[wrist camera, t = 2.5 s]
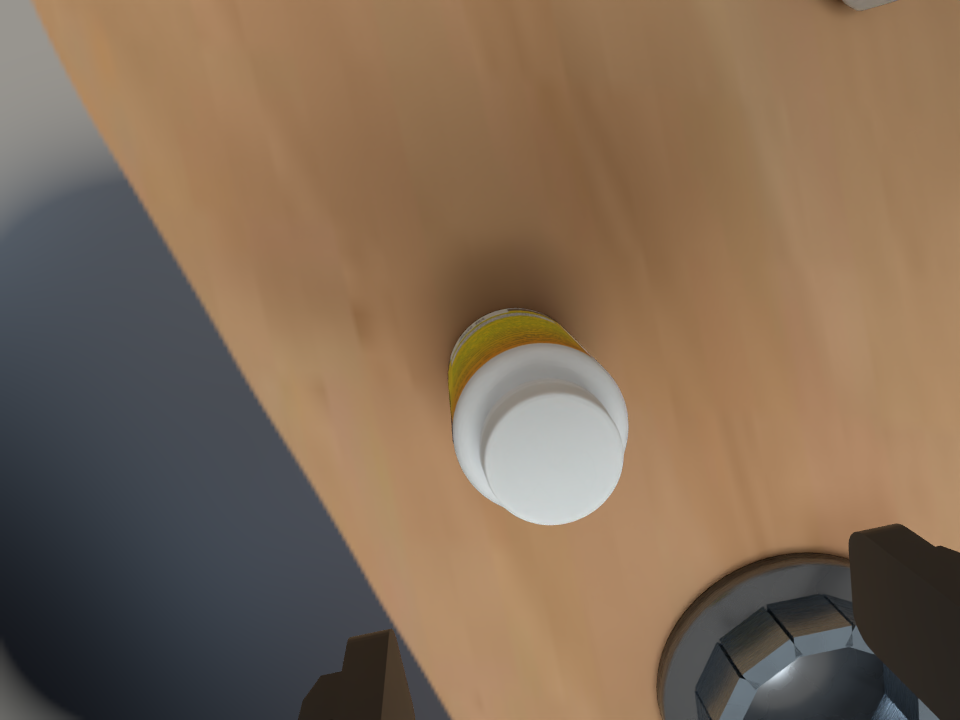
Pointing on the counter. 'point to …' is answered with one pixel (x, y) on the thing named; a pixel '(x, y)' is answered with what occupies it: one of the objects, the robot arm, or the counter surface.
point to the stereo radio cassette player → (865, 3)
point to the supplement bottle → (535, 417)
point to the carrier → (779, 650)
